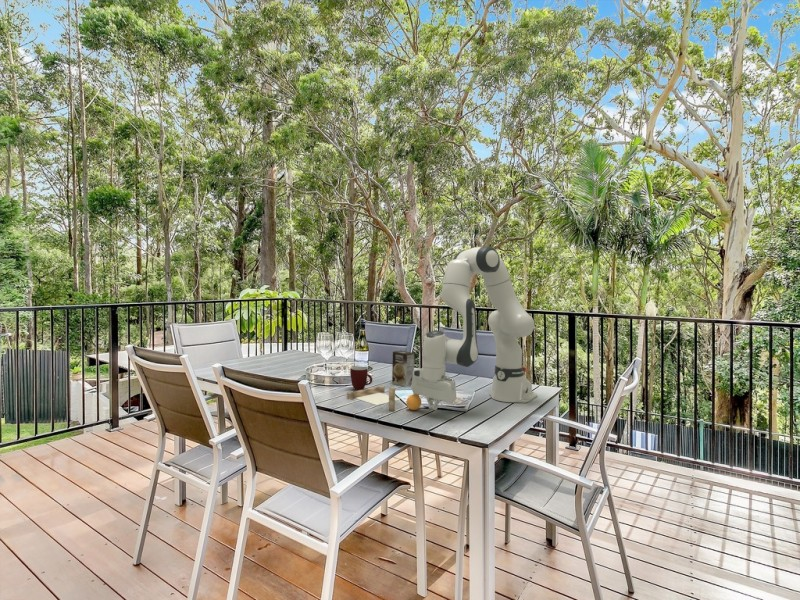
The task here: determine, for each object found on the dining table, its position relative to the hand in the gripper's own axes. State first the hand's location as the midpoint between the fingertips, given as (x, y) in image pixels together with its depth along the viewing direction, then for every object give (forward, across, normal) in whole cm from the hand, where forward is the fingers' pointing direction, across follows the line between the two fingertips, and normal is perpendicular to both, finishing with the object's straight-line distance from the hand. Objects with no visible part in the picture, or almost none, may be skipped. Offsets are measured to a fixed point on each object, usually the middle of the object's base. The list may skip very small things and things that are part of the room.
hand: (433, 409), depth 178 cm
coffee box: (+2, +42, -25) cm, 49 cm away
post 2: (+2, +14, -6) cm, 16 cm away
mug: (+2, +47, -3) cm, 47 cm away
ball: (-1, +9, +1) cm, 9 cm away
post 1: (+2, +14, +8) cm, 17 cm away
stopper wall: (+2, +38, +1) cm, 38 cm away
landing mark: (+2, +30, +1) cm, 30 cm away
